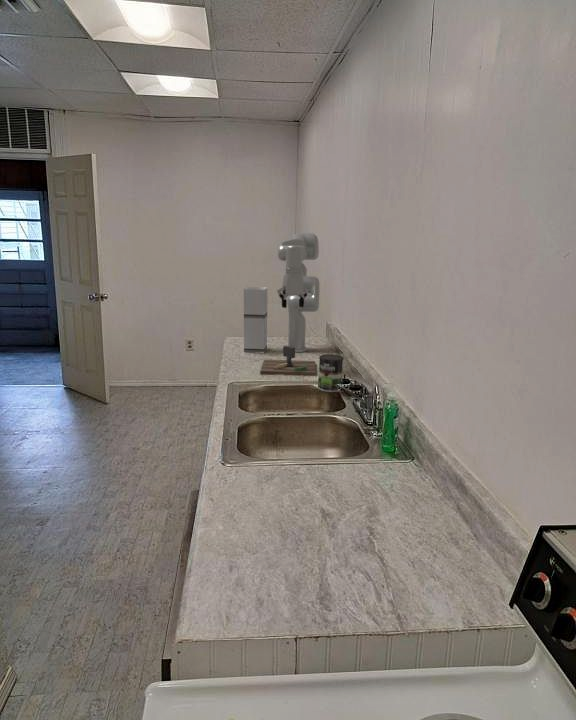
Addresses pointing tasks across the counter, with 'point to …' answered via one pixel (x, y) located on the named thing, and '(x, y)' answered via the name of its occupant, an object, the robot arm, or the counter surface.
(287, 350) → the tuning peg
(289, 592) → the counter surface
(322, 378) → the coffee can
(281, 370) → the wooden cutting board
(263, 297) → the tall grey two-section tower
